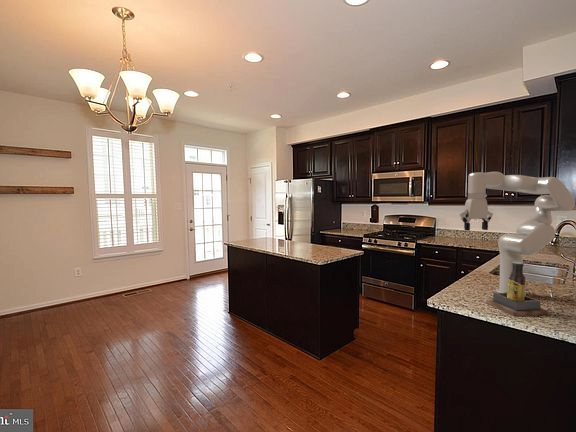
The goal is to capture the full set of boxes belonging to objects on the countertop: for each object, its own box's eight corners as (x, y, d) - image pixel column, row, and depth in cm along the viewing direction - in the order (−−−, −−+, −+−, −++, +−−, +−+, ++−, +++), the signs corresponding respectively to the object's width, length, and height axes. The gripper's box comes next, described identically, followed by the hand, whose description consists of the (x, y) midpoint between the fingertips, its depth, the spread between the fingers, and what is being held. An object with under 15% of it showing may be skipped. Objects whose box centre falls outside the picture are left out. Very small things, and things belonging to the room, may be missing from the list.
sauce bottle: (503, 303, 133) (504, 261, 132) (515, 302, 134) (516, 260, 133) (515, 308, 127) (516, 264, 126) (528, 307, 127) (529, 263, 126)
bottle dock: (517, 301, 138) (517, 290, 138) (547, 314, 123) (548, 301, 123) (486, 303, 137) (486, 292, 137) (513, 316, 122) (513, 303, 122)
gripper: (486, 196, 150) (486, 228, 151) (455, 197, 149) (455, 229, 150) (498, 196, 143) (497, 230, 144) (465, 197, 141) (465, 231, 142)
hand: (475, 230), depth 147 cm, fingers open, 9 cm apart
